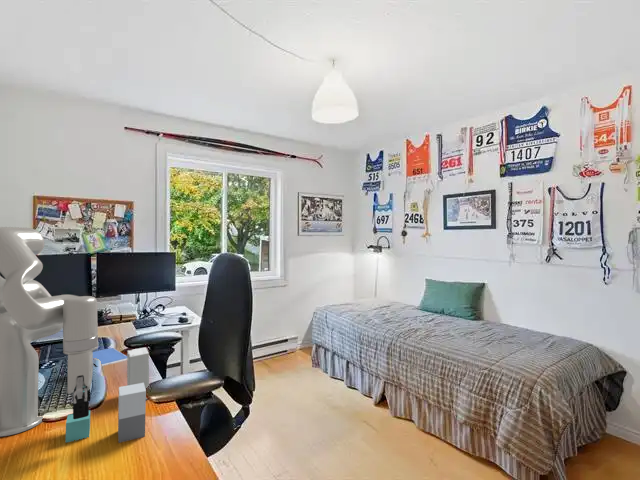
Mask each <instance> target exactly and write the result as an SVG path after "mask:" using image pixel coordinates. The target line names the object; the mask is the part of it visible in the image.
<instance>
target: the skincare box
mask: <svg viewBox="0 0 640 480" xmlns="http://www.w3.org/2000/svg"><path fill="white" fill-rule="evenodd" d="M126 352H127V353H126V356H127V360H126V361H127V365H126V367H127V368H126V369H127V370H126V373H127V374H126V380H127V382H126V383H127V384H126V386H128V385H133V384H139V383H144V385H145V389H146V388H147V387H148V386H149V387H150V362H149V361H150V360H149V359H150V352H149V351H148V349H147V348H146V347H139V348H135V349H128V350H126ZM146 400H148V399H147V398H146Z"/></svg>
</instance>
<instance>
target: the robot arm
mask: <svg viewBox="0 0 640 480" xmlns="http://www.w3.org/2000/svg"><path fill="white" fill-rule="evenodd" d="M44 248H45V239H44V236H43V235H42V234H41V233H40V232H39V231H38V230H37V229H34V228H31V227H16V226H14V227H13V226H12V227H11V226H0V437H7V436H12V435H17V434H20V433H22V432H25V431H29V430H30V429H33V428H35V427H36V426H38V425H40V424H41V423H42V422H43V421H42V419H43V417H39V416H38V410H39V365H40V363H39V361H40V360H39V359H40V358H39V354H38V352H37V351H36V349H35V348H34V347H33V346H32V345H31V342H33V341H37V340H40V339H43V338H47V337H50V336H53V335H56V334H58V333H59V332H61V331H62V344H63V345H62V347H63V350H62V353H63V354H64V355H67V390H66V391H67V392H66V393H67V394H68V395H71V394H73V402H72V414H73V419H78V418H83V417H87V416H88V415H89V410H90V406H89V405H90V404H89V402H90V401H91V386H92V380H93V370H94V368H93V367H94V364H93V352H94V351H96V350H97V349H98V348H99V340H98V339H99V333H98V331H99V328H98V327H99V325H98V319H99V318H98V299H97V298H96V297H94V296H90V295H83V296H79V295H76V294H61V295H60V294H59V295H53V296H52V294H50V293H49V291H48V290H47V289H46V287H44V285H42V283H40V282H39V281H37V280H34V279H35V278H36V277H37V276H39V275H40V274H41V272H42V270H43V267H44V264H43V262H42V260H40V259H39V258H38V257H37V255H39V254H40V253H41V252H42V251H43V250H44ZM1 275H2V276H1ZM37 416H38V417H37Z"/></svg>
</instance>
